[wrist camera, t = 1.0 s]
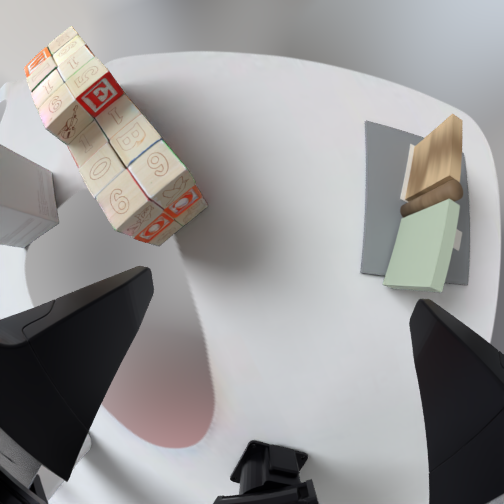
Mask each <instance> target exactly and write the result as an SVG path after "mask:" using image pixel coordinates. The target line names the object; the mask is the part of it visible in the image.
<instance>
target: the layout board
mask: <svg viewBox="0 0 504 504" xmlns="http://www.w3.org/2000/svg"><path fill="white" fill-rule="evenodd" d="M365 137H366V200H365V223H364V238H363V251H362V262H361V272H360V273H367V274H375V275H383V276H385V275H386V272H387V269H388V266H389V263H390V259H391V256H392V252H393V249H394V245H395V242H396V238H397V234H398V231H399V227H400V223H401V219H402V218H403V217H402V215H401V213H400V208H401V206H402V205H404V204H406V203H408V201H407V200H405V196H406V191H407V186H408V181H409V176H410V170H411V165H412V159H413V152H414V147H415V146H416V145H417V144H418V143H419V142H421V141H422V140H423V139H424V138H423V137H420V136H417V135H414V134H411V133H408V132H405V131H402V130H398V129H395V128H392V127H388V126H385V125H381V124H377V123H373V122H370V121H365ZM459 183H460V184H461V186H462V188H463V197H462V198H461V199H460V200H457V201H455V203H457V204H458V205H460V209H459V216H458V223H457V229H456V234H455V240H454V245H453V250H452V254H451V259H450V263H449V267H448V271H447V275H446V279H445V283H453V284H462V285H468V275H469V257H470V215H469V197H468V185H467V175H466V167H465V159H464V153H462V160H461V175H460V182H459Z"/></svg>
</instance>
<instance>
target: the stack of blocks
mask: <svg viewBox="0 0 504 504" xmlns="http://www.w3.org/2000/svg"><path fill="white" fill-rule="evenodd" d="M24 70H25V73H26V77H27V83H28V86H29V88H30V91H31V92H32V94H31V96H32V98H33V101H34V103H35V106H36V108H37V109H38V113H39V115H40V117H41V120H42V122H43V124H44V127H45V129H46V130H48V131H49V132H50V133H52V134H53V135H54V136H56V137H57V138H58V139H59V140H61V141H62V142H63V143H65V144H66V145H67V146H68V148H69V150H70V152H71V154H72V156H73V158H74V160H75V162H76V164H77V166H78V168H79V172H80V174H81V176H82V178H83V180H84V182H85V184H86V185H87V187H88V189H89V191H90V193H91V194H92V196H93V198H94V199H96V200H97V201H98V204H99V205H100V207H101V209H102V210H103V212H104V214H105V215H106V217H107V218H108V220H109V222H110V224H111V225H112V227H113V228H114V230H116V231H118V232H120V233H123V234H126V235H129V236H132V237H133V238H134V239H136V240H139V241H142V242H145V243H149V244H153V245H156V246H160V245H161V244H162V243H164V242H165V241H166V240H167V239H168V238H170V237H171V236H172V235H173V234H174V233H176V232H177V231H178V230H179V229H180V228H182V226H184V225H186V224H187V223H188V222H189V221H191V220H192V219H193V218H194V217H196V216H197V215H198V214H199V213H200V212H202V211H203V210H204V209H205V208H206V207H207V206H208V204H207V203H206V201H205V200H204V198H203V197H202V194H201V192H200V191H199V189H198V188H197V186H196V185H195V184H196V182H195V180H194V179H193V177H192V175H191V174H190V172H189V171H188V169H187V168H186V167H185V165H184V164H183V163H182V162H181V160H180V159H179V158H178V157H177V156H176V155H175V153H174V152H173V151H172V150H171V148H170V147H169V146H168V145H167V144H166V143H165V141H164V140H163V139H162V137H161V136H160V134H159V133H158V132H157V131H156V130H155V129H154V127H153V126H152V125H151V124H150V123H149V121H148V120H147V119H146V118H145V117H144V116H143V114H142V113H141V112H140V110H139V109H138V108H137V107H136V106H135V105H134V103H133V102H132V101H131V100H130V99H129V98H128V97H127V95H126V94H125V93H124V91H123V90H122V88H121V87H120V86H119V84H118V83H117V81H116V80H115V79H114V77H113V76H112V74H111V73H110V71H109V70H108V69H107V68H106V67H105V66H104V65H103V64H102V63H101V62H100V60H99V59H98V58H97V57H95V56H94V54H93V53H92V51H91V50H90V49H89V48H88V46H87V44H86V43H85V42H84V41H83V40H82V38H81V37H80V36H79V35H78V33H77V32H76V31H75V29H74V28H73V27H72V26H71V27H69V28H68V29H67V30H66V31H64V32H63V33H62V34H60V35H59V36H58V37H57V38H56V39H54V40H53V41H52V42H51V43H50V44H48V47H45V48H44V49H43V50H42V51H41V52H40V53H39V54H37V55H36V56H35V57H34V59H32V60H31V61H30V62H29V63H28V64H27V65H26V66H25V68H24Z"/></svg>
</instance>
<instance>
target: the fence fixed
mask: <svg viewBox="0 0 504 504" xmlns="http://www.w3.org/2000/svg"><path fill="white" fill-rule="evenodd" d="M461 160H462V120H461V119H459V118H458V117H456V116H455V115H454V114H452V115H451V116H449V117H448V118H447V119H446V120H445V121H444V122H443V123H441V124H440V125H439V126H438V127H437V128H436V129H435V130H433V131H432V132H431V133H430V134H429V135H428V136H426V137H425V138H424V139H423V140H422V141H421V142H419V143H418V144H417V145H416V146H415V147H414V152H413V159H412V165H411V170H410V176H409V181H408V186H407V191H406V196H405V200H407V201H408V203H406V204H404V205H402V206H401V208H400V213H401V215H402V217H403V218H404V217H407V216H409V215H411V214H414V213H416V212H419V211H421V210H423V209H426V208H428V207H431V206H433V205H435V204H438V203H440V202H442V201H445V200H447V199H451V200H452V201H454V202H455V201H457V200H460V199H461V198H462V197H463V188H462V186H461V184H460V183H459V182H460V175H461Z"/></svg>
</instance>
